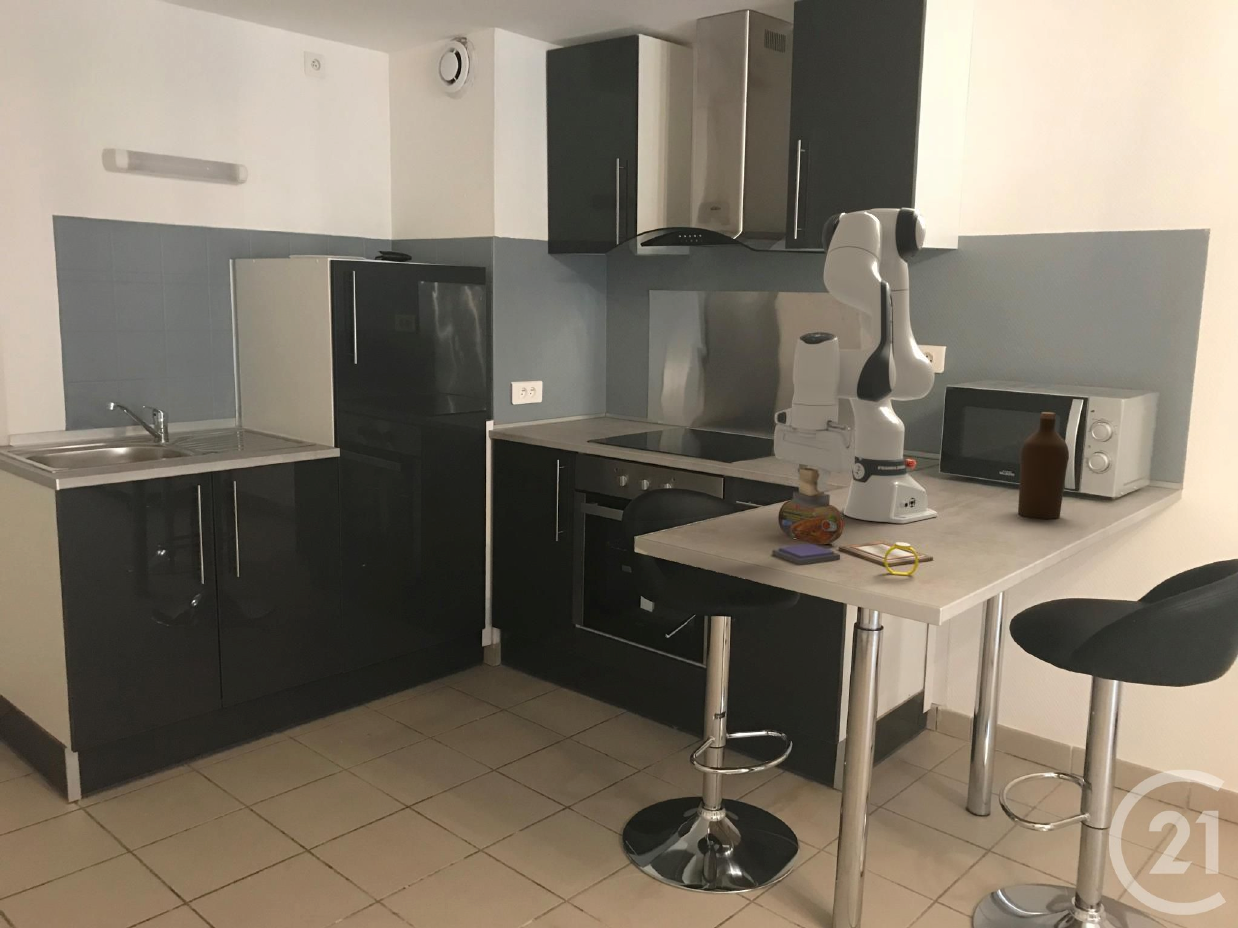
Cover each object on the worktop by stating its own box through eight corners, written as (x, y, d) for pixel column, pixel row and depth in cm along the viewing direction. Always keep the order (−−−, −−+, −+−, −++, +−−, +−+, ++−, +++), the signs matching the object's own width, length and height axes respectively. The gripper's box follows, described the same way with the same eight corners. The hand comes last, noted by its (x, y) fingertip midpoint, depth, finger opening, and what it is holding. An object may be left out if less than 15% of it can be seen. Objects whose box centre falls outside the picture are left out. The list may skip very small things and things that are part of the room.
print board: (882, 544, 205) (883, 539, 205) (932, 560, 193) (933, 555, 193) (838, 549, 199) (838, 545, 199) (887, 566, 187) (887, 562, 187)
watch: (915, 575, 183) (919, 544, 182) (916, 579, 180) (921, 548, 179) (882, 570, 184) (886, 539, 183) (883, 574, 181) (887, 543, 180)
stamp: (812, 501, 195) (813, 466, 193) (829, 506, 190) (830, 470, 189) (792, 503, 192) (793, 468, 191) (809, 508, 188) (810, 472, 187)
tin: (776, 534, 211) (778, 496, 210) (785, 532, 213) (787, 494, 212) (836, 548, 201) (838, 508, 199) (844, 545, 203) (847, 506, 201)
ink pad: (811, 549, 199) (812, 542, 199) (839, 559, 191) (840, 552, 191) (772, 554, 194) (772, 547, 194) (799, 564, 187) (799, 557, 186)
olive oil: (1031, 520, 232) (1041, 415, 228) (1006, 510, 242) (1015, 410, 238) (1072, 519, 234) (1082, 415, 230) (1045, 510, 244) (1054, 410, 240)
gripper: (864, 423, 181) (860, 496, 183) (794, 411, 198) (792, 478, 201) (838, 425, 178) (834, 500, 180) (769, 413, 195) (767, 481, 198)
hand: (811, 488), depth 191 cm, fingers closed on stamp, 3 cm apart
